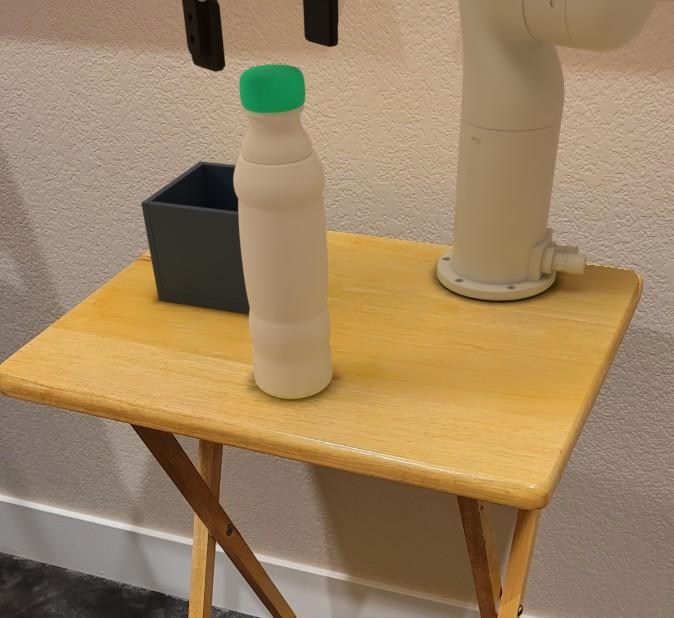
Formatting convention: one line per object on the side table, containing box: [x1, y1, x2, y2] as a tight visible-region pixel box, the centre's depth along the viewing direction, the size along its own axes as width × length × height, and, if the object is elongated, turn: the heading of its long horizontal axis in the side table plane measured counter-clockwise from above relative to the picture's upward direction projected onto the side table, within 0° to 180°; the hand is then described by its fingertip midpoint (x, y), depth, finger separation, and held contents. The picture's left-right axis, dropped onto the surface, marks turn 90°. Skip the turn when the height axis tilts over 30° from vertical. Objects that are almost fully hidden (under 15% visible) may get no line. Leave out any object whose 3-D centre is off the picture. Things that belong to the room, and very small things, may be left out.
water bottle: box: [233, 63, 333, 400], centre depth 71 cm, size 7×7×25 cm
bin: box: [140, 160, 250, 315], centre depth 92 cm, size 12×12×10 cm
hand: (267, 55), depth 62 cm, fingers open, 9 cm apart
